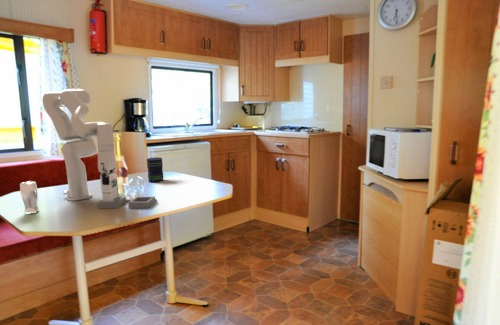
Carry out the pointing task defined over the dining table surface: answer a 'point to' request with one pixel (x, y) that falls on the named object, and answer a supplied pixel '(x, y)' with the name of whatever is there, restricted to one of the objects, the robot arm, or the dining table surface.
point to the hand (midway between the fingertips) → (109, 182)
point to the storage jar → (155, 170)
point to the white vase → (29, 195)
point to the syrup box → (110, 188)
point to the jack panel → (129, 202)
